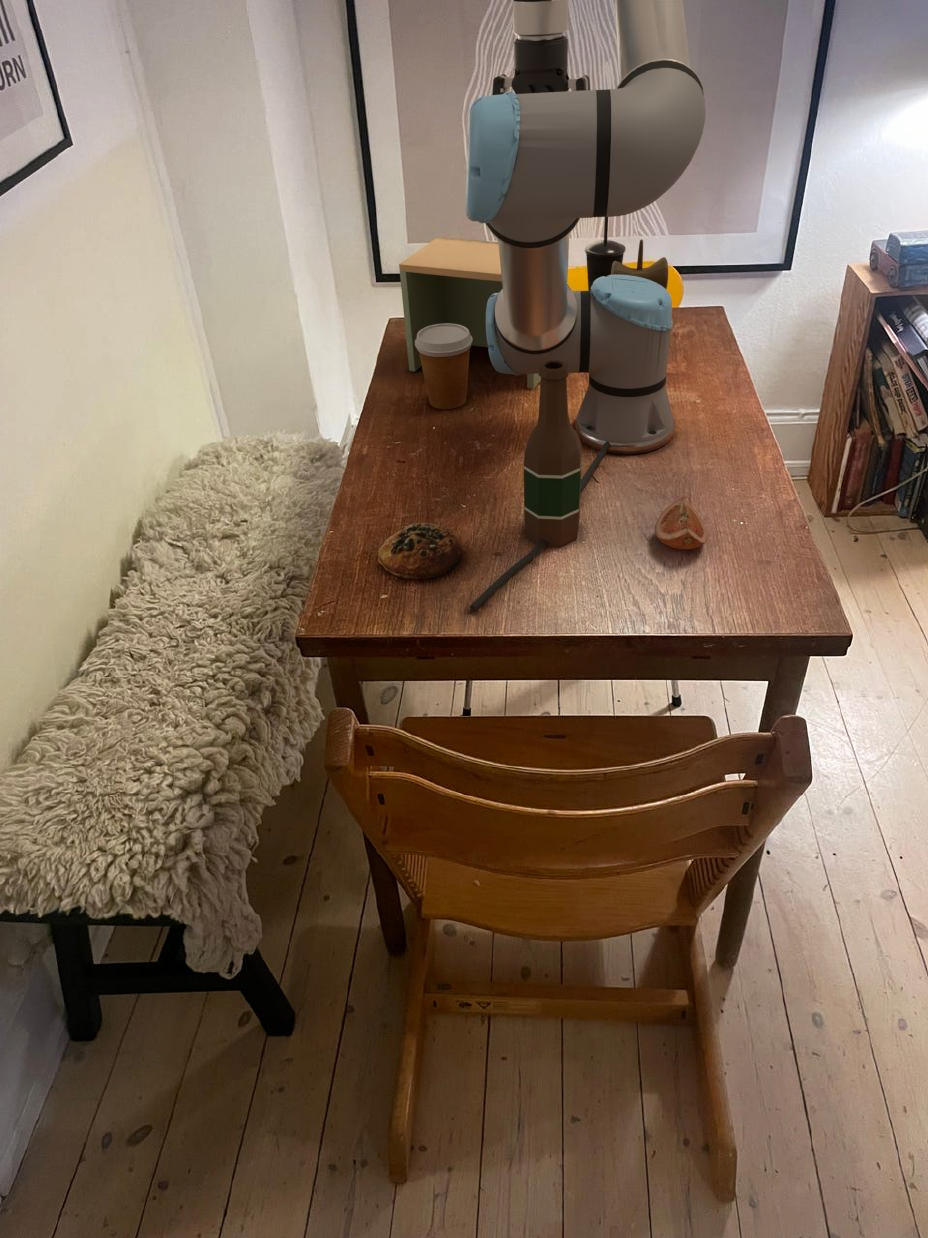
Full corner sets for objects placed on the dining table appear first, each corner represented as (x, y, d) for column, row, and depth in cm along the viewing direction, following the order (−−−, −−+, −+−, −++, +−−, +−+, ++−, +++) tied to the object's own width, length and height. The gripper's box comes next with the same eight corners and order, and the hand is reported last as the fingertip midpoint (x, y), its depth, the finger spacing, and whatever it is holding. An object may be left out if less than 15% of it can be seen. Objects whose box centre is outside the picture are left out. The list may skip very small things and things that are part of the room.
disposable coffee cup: (475, 412, 152) (471, 343, 145) (418, 415, 153) (412, 346, 145) (475, 387, 160) (472, 320, 152) (421, 390, 160) (415, 323, 153)
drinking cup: (625, 312, 182) (631, 207, 170) (617, 327, 177) (623, 219, 164) (587, 310, 185) (591, 205, 172) (578, 324, 179) (581, 217, 166)
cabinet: (533, 389, 158) (532, 277, 146) (409, 370, 167) (398, 263, 155) (563, 354, 168) (565, 247, 156) (445, 339, 177) (438, 236, 165)
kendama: (662, 357, 165) (672, 243, 153) (609, 359, 166) (615, 245, 153) (657, 343, 170) (667, 232, 157) (606, 346, 170) (611, 235, 158)
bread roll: (455, 584, 115) (447, 550, 112) (372, 588, 118) (363, 556, 115) (470, 537, 124) (463, 505, 121) (393, 542, 127) (384, 511, 124)
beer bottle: (564, 554, 119) (568, 383, 104) (513, 539, 123) (509, 371, 108) (590, 525, 124) (597, 357, 109) (540, 511, 128) (540, 346, 113)
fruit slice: (708, 564, 116) (713, 531, 113) (654, 562, 117) (657, 530, 114) (703, 527, 123) (707, 496, 119) (652, 526, 123) (655, 495, 120)
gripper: (636, 31, 124) (627, 197, 137) (469, 32, 133) (476, 188, 146) (620, 39, 119) (612, 211, 132) (447, 39, 127) (456, 201, 141)
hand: (540, 199), depth 139 cm, fingers open, 13 cm apart
